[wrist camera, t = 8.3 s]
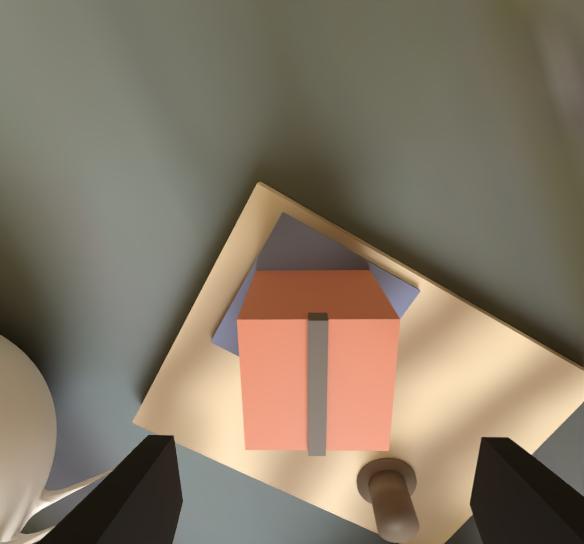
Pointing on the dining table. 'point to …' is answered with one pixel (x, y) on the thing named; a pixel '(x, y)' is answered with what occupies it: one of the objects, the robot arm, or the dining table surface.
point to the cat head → (26, 445)
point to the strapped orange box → (317, 361)
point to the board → (407, 392)
